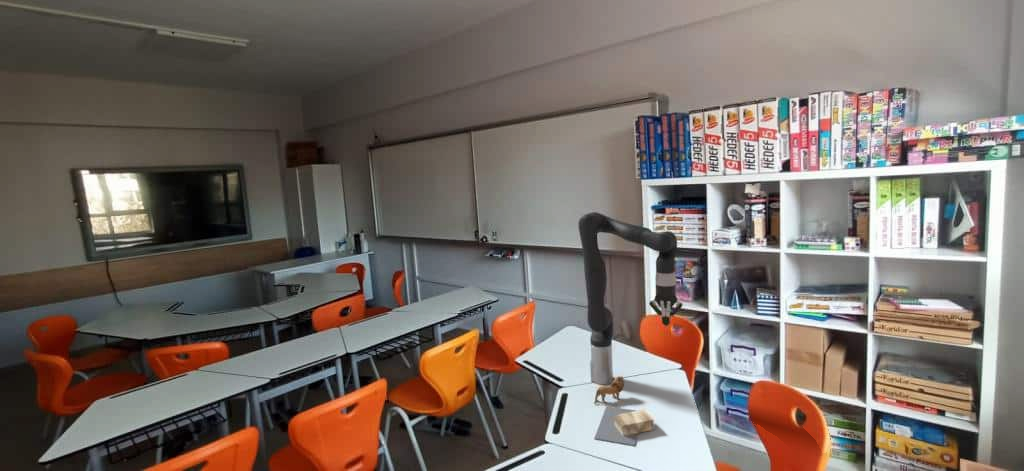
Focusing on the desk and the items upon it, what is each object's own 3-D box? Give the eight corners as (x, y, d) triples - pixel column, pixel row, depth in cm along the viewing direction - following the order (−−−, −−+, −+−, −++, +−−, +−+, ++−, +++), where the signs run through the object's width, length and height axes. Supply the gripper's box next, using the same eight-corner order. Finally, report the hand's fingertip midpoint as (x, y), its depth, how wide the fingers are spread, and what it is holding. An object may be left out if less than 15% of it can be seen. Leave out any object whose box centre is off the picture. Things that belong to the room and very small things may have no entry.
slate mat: (594, 439, 163) (594, 438, 163) (606, 407, 183) (606, 406, 183) (634, 446, 158) (634, 445, 158) (642, 412, 178) (642, 411, 178)
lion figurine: (619, 392, 194) (619, 372, 192) (627, 398, 189) (627, 377, 187) (590, 402, 188) (589, 381, 186) (598, 408, 183) (597, 387, 181)
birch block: (653, 429, 166) (623, 435, 163) (644, 419, 172) (614, 425, 170) (653, 419, 165) (622, 425, 163) (644, 409, 172) (614, 415, 169)
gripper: (646, 284, 179) (647, 327, 181) (683, 286, 173) (683, 329, 176) (649, 279, 185) (649, 320, 188) (683, 280, 180) (684, 322, 183)
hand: (666, 324), depth 182 cm, fingers closed
